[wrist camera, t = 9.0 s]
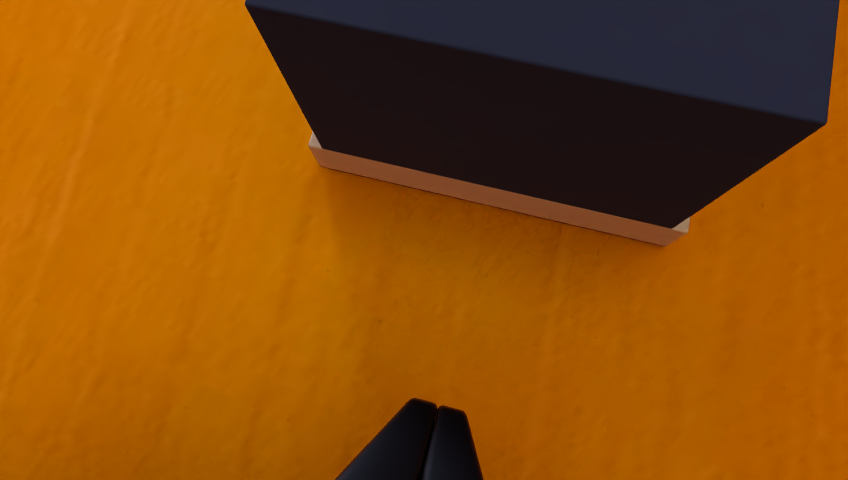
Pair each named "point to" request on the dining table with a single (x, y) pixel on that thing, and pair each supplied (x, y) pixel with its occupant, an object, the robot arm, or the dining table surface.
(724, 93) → the navy stepped block
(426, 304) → the dining table surface
